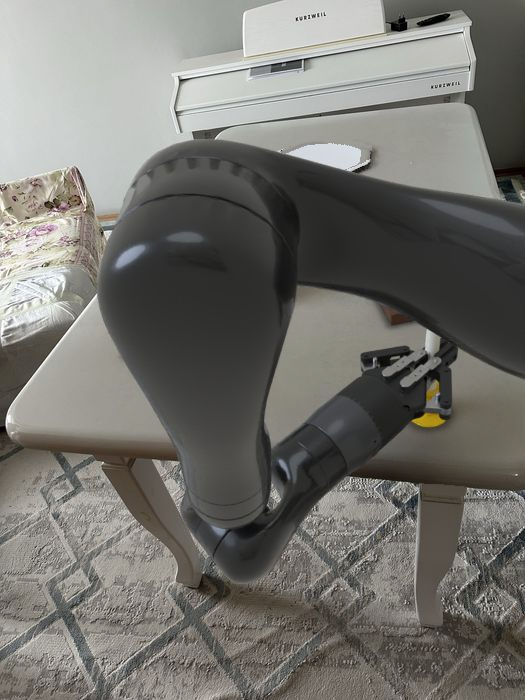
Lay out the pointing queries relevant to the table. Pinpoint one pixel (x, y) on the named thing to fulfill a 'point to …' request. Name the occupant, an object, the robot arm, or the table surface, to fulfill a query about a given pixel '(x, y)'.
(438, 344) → the candle
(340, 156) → the plate
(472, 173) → the table surface
